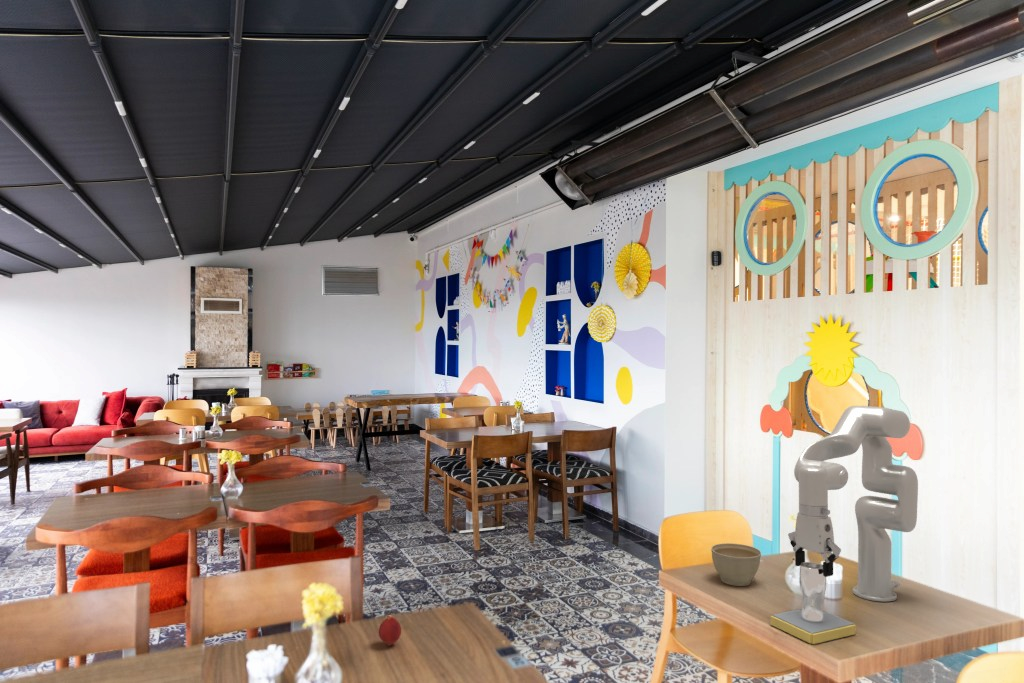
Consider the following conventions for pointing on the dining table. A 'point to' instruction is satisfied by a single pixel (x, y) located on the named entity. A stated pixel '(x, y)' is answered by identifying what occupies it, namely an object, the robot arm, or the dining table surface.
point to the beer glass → (812, 591)
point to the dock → (813, 626)
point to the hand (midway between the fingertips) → (813, 570)
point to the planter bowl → (736, 563)
